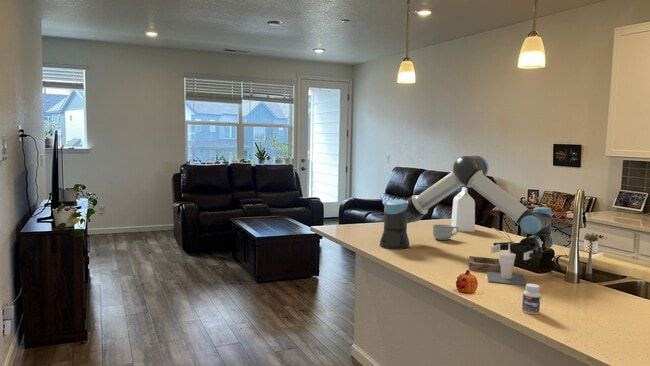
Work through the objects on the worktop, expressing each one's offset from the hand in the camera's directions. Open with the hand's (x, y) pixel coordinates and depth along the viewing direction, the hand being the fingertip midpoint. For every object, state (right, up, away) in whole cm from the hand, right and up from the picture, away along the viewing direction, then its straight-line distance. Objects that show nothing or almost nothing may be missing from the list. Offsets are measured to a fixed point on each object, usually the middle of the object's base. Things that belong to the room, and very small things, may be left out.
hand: (507, 253), depth 190 cm
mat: (0, -11, +1) cm, 11 cm away
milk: (+12, -1, +105) cm, 105 cm away
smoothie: (0, -10, +1) cm, 10 cm away
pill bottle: (-6, -14, -34) cm, 38 cm away
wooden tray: (-4, -9, +18) cm, 20 cm away
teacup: (-6, -4, +74) cm, 74 cm away
